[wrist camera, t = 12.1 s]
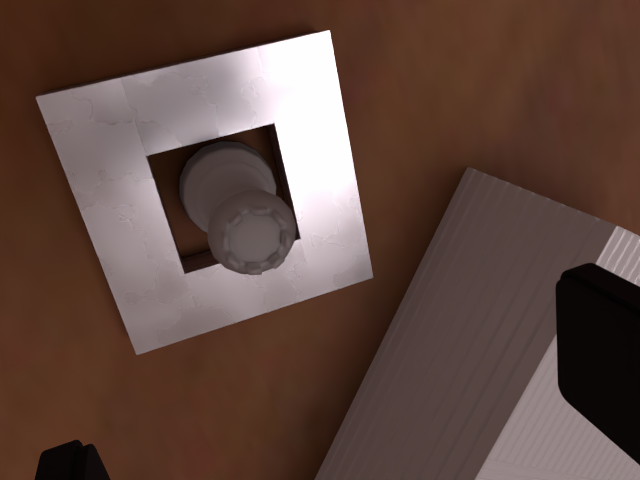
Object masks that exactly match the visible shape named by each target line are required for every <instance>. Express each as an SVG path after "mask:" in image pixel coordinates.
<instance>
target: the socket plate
mask: <svg viewBox="0 0 640 480" xmlns="http://www.w3.org/2000/svg"><path fill="white" fill-rule="evenodd" d="M36 100H37V103H38V105H39V108H40V110H41V113H42V115H43V118H44V120H45V123H46V126H47V128H48V131H49V133H50V136H51V138H52V141H53V143H54V146H55V148H56V151H57V154H58V156H59V159H60V161H61V164H62V166H63V169H64V171H65V174H66V176H67V179H68V182H69V184H70V187H71V189H72V192H73V194H74V197H75V199H76V202H77V205H78V207H79V210H80V212H81V215H82V217H83V220H84V222H85V225H86V227H87V230H88V233H89V235H90V238H91V240H92V243H93V245H94V248H95V250H96V253H97V256H98V258H99V261H100V263H101V266H102V268H103V271H104V273H105V276H106V278H107V281H108V284H109V286H110V289H111V291H112V294H113V296H114V299H115V301H116V304H117V307H118V309H119V312H120V314H121V317H122V319H123V322H124V324H125V327H126V329H127V332H128V335H129V337H130V340H131V342H132V345H133V347H134V350H135V352H136V355H139V354H142V353H145V352H148V351H151V350H154V349H157V348H160V347H163V346H166V345H169V344H172V343H175V342H178V341H181V340H184V339H187V338H190V337H193V336H196V335H200V334H203V333H206V332H209V331H212V330H215V329H218V328H221V327H224V326H227V325H230V324H233V323H236V322H239V321H242V320H245V319H248V318H251V317H254V316H257V315H261V314H264V313H267V312H270V311H273V310H276V309H279V308H282V307H285V306H288V305H291V304H294V303H297V302H300V301H303V300H306V299H309V298H312V297H315V296H318V295H322V294H325V293H328V292H331V291H334V290H337V289H340V288H343V287H346V286H349V285H352V284H355V283H358V282H361V281H364V280H367V279H370V278H373V273H372V268H371V262H370V256H369V251H368V245H367V239H366V234H365V228H364V222H363V217H362V211H361V205H360V200H359V194H358V188H357V183H356V177H355V171H354V166H353V160H352V154H351V149H350V143H349V137H348V132H347V126H346V120H345V115H344V109H343V103H342V98H341V92H340V86H339V81H338V75H337V69H336V64H335V58H334V52H333V47H332V41H331V35H330V30H323V31H313V32H308V33H304V34H299V35H295V36H290V37H286V38H282V39H277V40H273V41H268V42H264V43H259V44H255V45H250V46H246V47H242V48H237V49H233V50H228V51H224V52H219V53H215V54H211V55H206V56H202V57H197V58H193V59H188V60H184V61H180V62H175V63H171V64H166V65H162V66H157V67H153V68H149V69H144V70H140V71H135V72H131V73H126V74H122V75H118V76H113V77H109V78H104V79H100V80H95V81H91V82H87V83H82V84H78V85H73V86H69V87H64V88H60V89H55V90H51V91H47V92H43V93H41V94H40V95H38V96H36ZM265 125H267V127H268V131H269V136H270V140H271V144H272V149H273V153H274V157H275V161H276V166H277V170H278V174H279V178H280V183H281V187H282V191H283V196H284V200H285V203H286V205H287V206H288V207H289V208H290V209H291V211H292V214H293V217H294V220H295V223H296V233H295V242H294V244H293V246H292V249H291V250H290V251H289V253H288V255H287V257H286V258H285V261H284V262H283V263H282V264H281V265H280V266H279V267H278V268H276V269H274V268H272V269H270V270H267V271H265V272H262V275H248V274H239V273H237V272H234V271H231V270H229V269H226V268H225V267H224V266H223V265H222V264H221V263H219V262H218V261H217V260H216V259H215V258H214V257H213V254H212V252H211V250H208V251H205V252H202V253H198V254H195V255H192V256H188V257H185V258H181V255H180V252H179V249H178V246H177V243H176V240H175V237H174V234H173V231H172V228H171V225H170V222H169V219H168V215H167V212H166V209H165V206H164V203H163V200H162V197H161V194H160V191H159V188H158V185H157V182H156V179H155V176H154V173H153V170H152V166H151V163H150V160H149V157H148V155H152V154H156V153H160V152H163V151H167V150H171V149H175V148H179V147H183V146H187V145H191V144H195V143H198V142H202V141H206V140H210V139H214V138H218V137H222V136H226V135H230V134H234V133H237V132H241V131H245V130H249V129H253V128H257V127H261V126H265Z"/></svg>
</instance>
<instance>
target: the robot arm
mask: <svg viewBox="0 0 640 480" xmlns="http://www.w3.org/2000/svg"><path fill="white" fill-rule="evenodd" d="M555 292H556V332H557V371H558V387H559V390H560V393H561V395H562V396H563V398H564V399H565V400H566V401H567V402H568V403H569V404H570V405H571V406H572V407H573V408H574V409H576V410H577V411H578V412H579V413H580V414H581V415H582V416H584V417H585V418H586V419H587V420H588V421H589V422H590V423H592V424H593V425H594V426H595V427H596V428H597V429H599V430H600V431H601V432H602V433H603V434H604V435H605V436H607V437H608V438H609V439H610V440H611V441H612V442H613V443H615V444H616V445H617V446H618V447H619V448H620V449H621V450H623V451H624V452H625V453H626V454H627V455H628V456H629V457H631V458H632V459H633V460H634V461H635V462H636V463H637V464H639V465H640V287H639V286H637V285H635V284H633V283H632V282H630V281H628V280H626V279H624V278H622V277H620V276H618V275H616V274H614V273H612V272H610V271H608V270H606V269H604V268H602V267H600V266H598V265H596V264H594V263H586V264H583V265H580V266H577V267H574V268H571V269H568V270H565V271H564V272H563V273H562V274H561V276H560V280H559V281H557V283H556V287H555ZM35 480H110V478H109V476H108V473H107V471H106V469H105V467H104V465H103V463H102V461H101V458H100V456H99V454H98V452H97V450H96V448H95V446H94V445H93V444H88V445H85V446H83V445H82V443H81V442H80V441H79V440H74V441H71V442H68V443H65V444H62V445H59V446H57V447H54V448H51V449H48V450H45V451H43V452H42V454H41V456H40V459H39V464H38V468H37V472H36V476H35Z"/></svg>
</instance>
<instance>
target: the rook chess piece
mask: <svg viewBox="0 0 640 480" xmlns="http://www.w3.org/2000/svg"><path fill="white" fill-rule="evenodd" d="M179 197H180V199H181V202H182V204H183V207H184V209H185V211H186V213H187V214H188V217H189V218H190V219H191V220H192V221H193V222H194V223H195V224H196V225H197V226H198V227H199V228H200V229H201V230H202V231H204V232H207V233H208V239H207V242H208V244H209V247H210V249H211V252H212V254H213V257H214V258H215V259H216V260H217V261H218V262H219V263H221V264H222V265H223V266H224V267H225V268H226V269H229V270H231V271H234V272H237V273H239V274H248V275H262V272H265V271H267V270H270V269H272V268H274V269H276V268H278V267H279V266H280V265H281V264H282V263H283V262H284V261H285V258H286V257H287V255H288V253H289V251H290V250H291V249H292V246H293V244H294V242H295V233H296V223H295V220H294V217H293V214H292V211H291V209H290V208H289V207H288V206H287V205H286V203H285V202H284V201H283V200H282V199H281V198H280V197H278V196H276V183H275V180H274V177H273V174H272V171H271V168H270V167H269V165H268V163H267V162H266V161H265V160H264V159H263V157H262V156H261V155H260V154H259V153H258V152H257V151H256V150H254V149H252V148H250V147H248V146H246V145H244V144H242V143H240V142H225V141H220V142H217V143H214V144H211V145H208V146H205V147H202V148H201V149H200V150H199V151H198V152H197V153H195V154H194V155H193V156H192V157H191V158H190V159H189V160H188V161H187V163H186V165H185V167H184V169H183V172H182V174H181V176H180V184H179Z"/></svg>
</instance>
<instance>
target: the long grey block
mask: <svg viewBox="0 0 640 480" xmlns="http://www.w3.org/2000/svg"><path fill="white" fill-rule="evenodd" d="M586 263H594V264H596V265H598V266H600V267H602V268H604V269H606V270H608V271H610V272H612V273H614V274H616V275H618V276H620V277H622V278H624V279H626V280H628V281H630V282H632V283H633V284H635V285H637V286H639V287H640V236H638V235H636V234H634V233H632V232H630V231H628V230H625V229H623V228H621V227H619V226H617V225H614V224H612V223H609V222H607V221H604V220H602V219H599V218H596V217H594V216H592V215H589V214H587V213H584V212H581V211H579V210H576V209H574V208H571V207H569V206H566V205H563V204H561V203H559V202H556V201H554V200H551V199H548V198H546V197H544V196H541V195H539V194H535V193H533V192H531V191H528V190H526V189H523V188H521V187H518V186H516V185H513V184H511V183H508V182H506V181H503V180H501V179H498V178H496V177H493V176H491V175H488V174H485V173H483V172H480V171H478V170H475V169H473V168H470V167H467V169H466V171H465V173H464V175H463V177H462V179H461V181H460V183H459V185H458V187H457V189H456V191H455V193H454V195H453V197H452V199H451V201H450V203H449V205H448V207H447V209H446V212H445V214H444V216H443V218H442V220H441V222H440V224H439V226H438V228H437V230H436V232H435V234H434V236H433V238H432V240H431V242H430V244H429V246H428V248H427V250H426V252H425V255H424V257H423V259H422V261H421V263H420V265H419V267H418V269H417V271H416V273H415V275H414V277H413V279H412V281H411V283H410V285H409V287H408V289H407V291H406V293H405V295H404V297H403V300H402V302H401V304H400V306H399V308H398V310H397V312H396V314H395V316H394V318H393V320H392V322H391V324H390V326H389V328H388V330H387V332H386V334H385V336H384V338H383V340H382V343H381V345H380V347H379V349H378V351H377V353H376V355H375V357H374V359H373V361H372V363H371V365H370V367H369V369H368V371H367V373H366V375H365V377H364V379H363V381H362V383H361V386H360V388H359V390H358V392H357V394H356V396H355V398H354V400H353V402H352V404H351V406H350V408H349V410H348V412H347V414H346V416H345V418H344V420H343V422H342V424H341V426H340V428H339V431H338V433H337V435H336V437H335V439H334V441H333V443H332V445H331V447H330V449H329V451H328V453H327V455H326V457H325V459H324V461H323V463H322V465H321V467H320V469H319V471H318V474H317V476H316V478H315V480H640V465H639V464H637V463H636V462H635V461H634V460H633V459H632V458H631V457H629V456H628V455H627V454H626V453H625V452H624V451H623V450H621V449H620V448H619V447H618V446H617V445H616V444H615V443H613V442H612V441H611V440H610V439H609V438H608V437H607V436H605V435H604V434H603V433H602V432H601V431H600V430H599V429H597V428H596V427H595V426H594V425H593V424H592V423H590V422H589V421H588V420H587V419H586V418H585V417H584V416H582V415H581V414H580V413H579V412H578V411H577V410H576V409H574V408H573V407H572V406H571V405H570V404H569V403H568V402H567V401H566V400H565V399H564V398H563V396H562V395H561V393H560V390H559V387H558V371H557V332H556V292H555V287H556V283H557V281H559V280H560V276H561V274H562V273H563V272H564V271H565V270H568V269H571V268H574V267H577V266H580V265H583V264H586Z"/></svg>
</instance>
